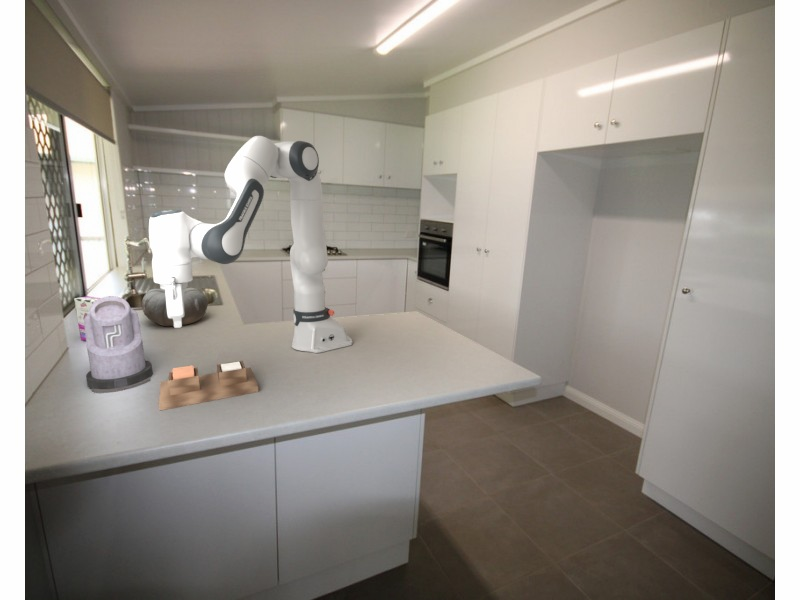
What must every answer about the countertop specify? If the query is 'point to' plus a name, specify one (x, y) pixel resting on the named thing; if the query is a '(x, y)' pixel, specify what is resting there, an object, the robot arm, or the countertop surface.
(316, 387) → the countertop surface
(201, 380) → the key panel
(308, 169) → the robot arm
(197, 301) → the gourd
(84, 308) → the candy bar box
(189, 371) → the terracotta key
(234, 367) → the ivory key
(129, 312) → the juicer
